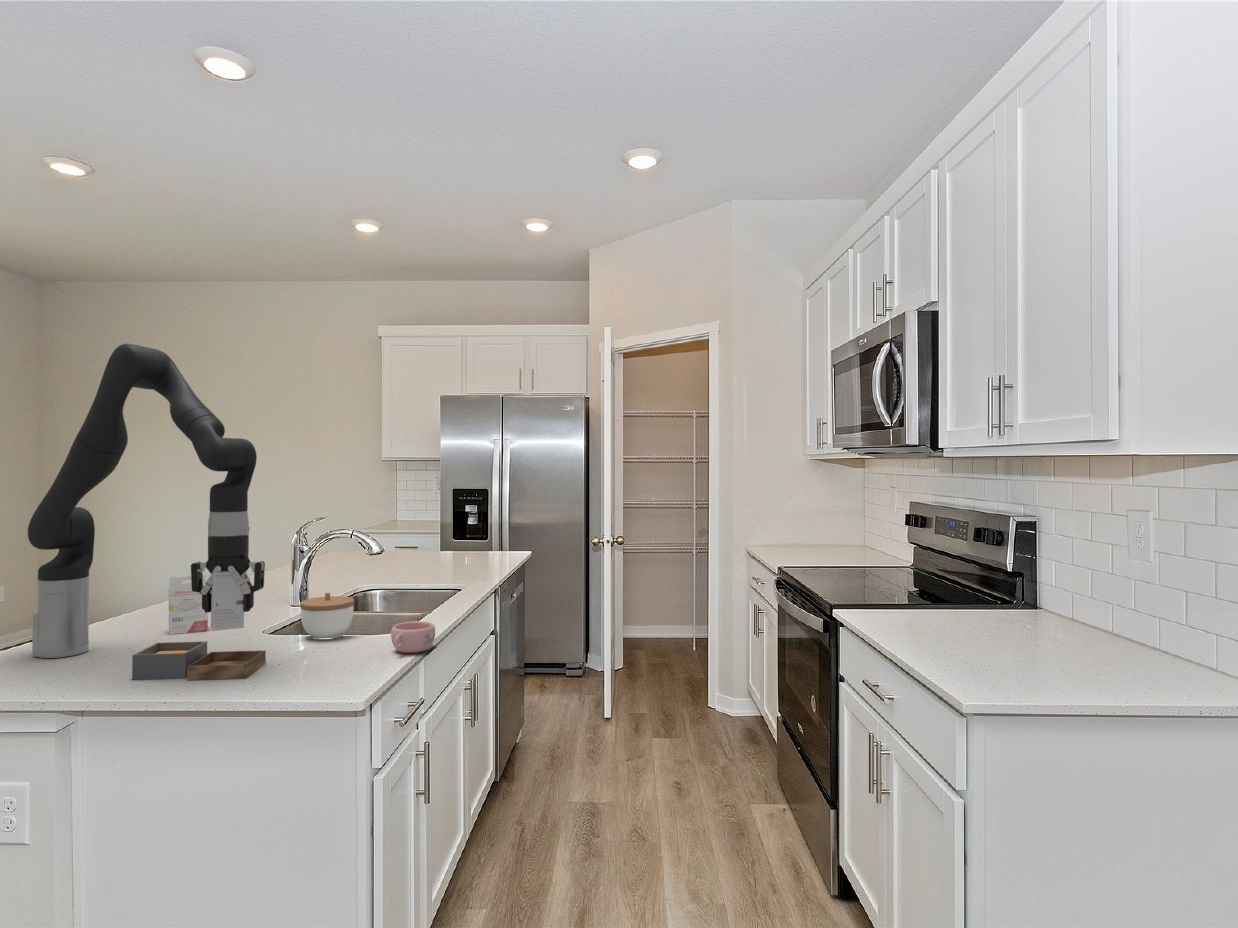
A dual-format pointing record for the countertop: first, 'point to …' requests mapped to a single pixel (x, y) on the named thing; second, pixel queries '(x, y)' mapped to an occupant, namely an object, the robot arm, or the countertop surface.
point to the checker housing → (166, 660)
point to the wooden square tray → (226, 665)
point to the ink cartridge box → (185, 607)
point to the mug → (413, 636)
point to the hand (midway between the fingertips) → (228, 611)
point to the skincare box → (226, 602)
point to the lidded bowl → (327, 616)
